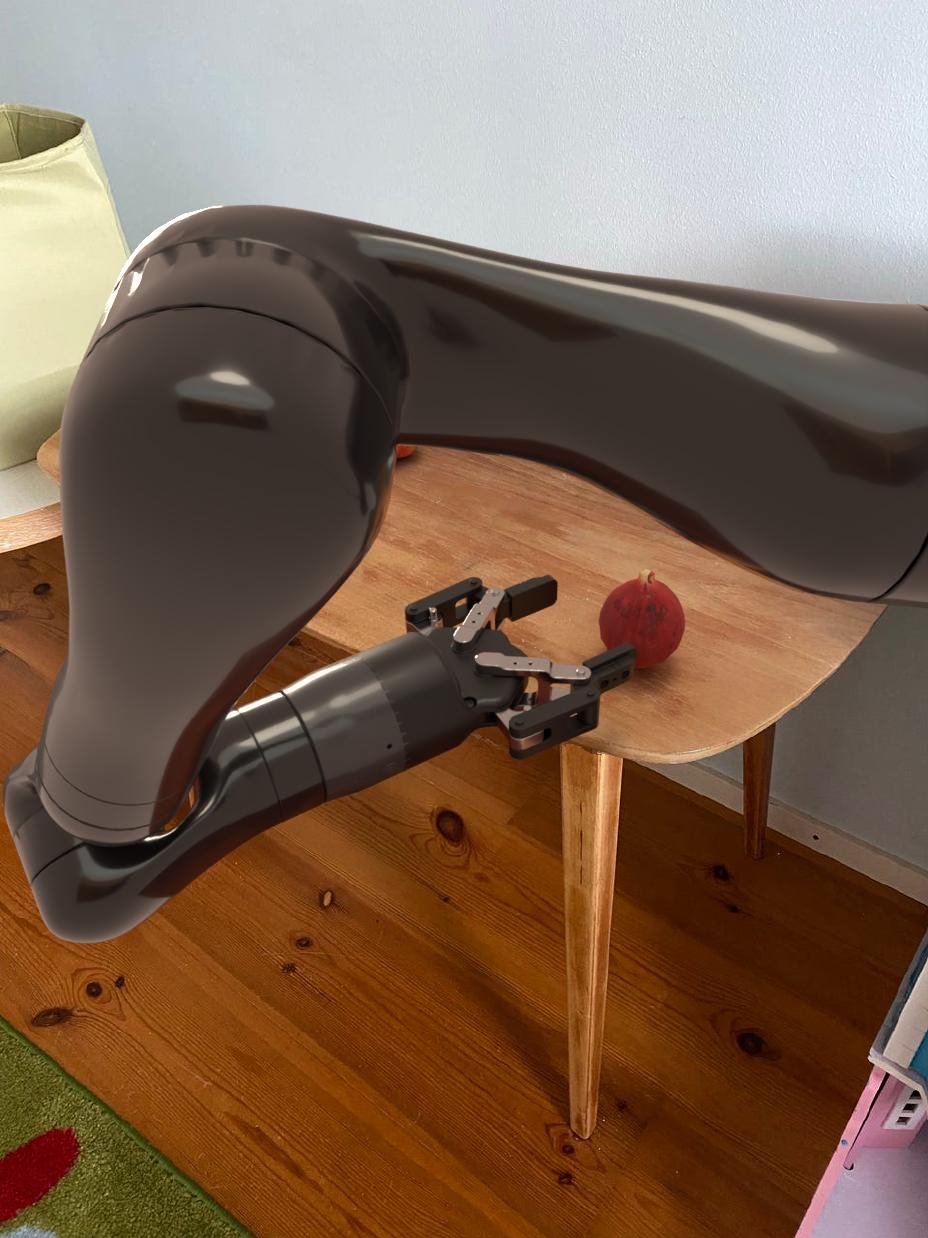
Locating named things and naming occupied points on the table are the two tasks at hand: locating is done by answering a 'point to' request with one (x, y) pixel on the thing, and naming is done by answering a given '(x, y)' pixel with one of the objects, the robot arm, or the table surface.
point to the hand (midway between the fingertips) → (591, 620)
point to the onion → (643, 619)
